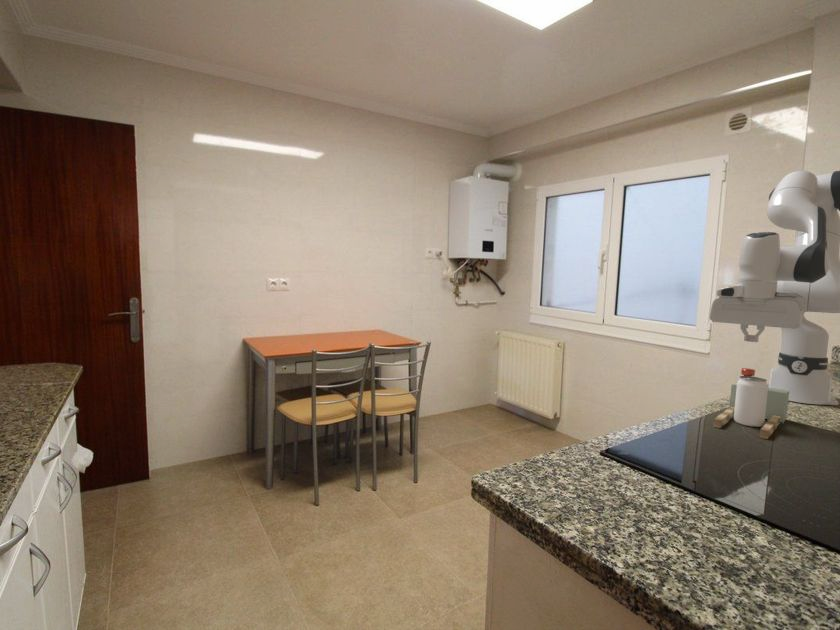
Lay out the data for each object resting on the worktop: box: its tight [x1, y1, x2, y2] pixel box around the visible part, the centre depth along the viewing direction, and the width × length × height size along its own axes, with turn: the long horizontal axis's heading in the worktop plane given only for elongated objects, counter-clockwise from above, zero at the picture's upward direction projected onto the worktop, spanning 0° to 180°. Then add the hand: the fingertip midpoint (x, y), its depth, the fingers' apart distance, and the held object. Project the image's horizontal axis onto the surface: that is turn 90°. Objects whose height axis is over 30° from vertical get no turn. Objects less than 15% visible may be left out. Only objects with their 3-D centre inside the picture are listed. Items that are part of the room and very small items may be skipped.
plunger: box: [740, 367, 756, 377], centre depth 124 cm, size 3×3×8 cm
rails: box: [712, 406, 781, 440], centre depth 114 cm, size 17×11×2 cm, turn 133°
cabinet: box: [729, 381, 789, 424], centre depth 122 cm, size 5×12×8 cm, turn 43°
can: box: [733, 375, 769, 428], centre depth 115 cm, size 6×6×12 cm
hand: (751, 341), depth 123 cm, fingers closed
